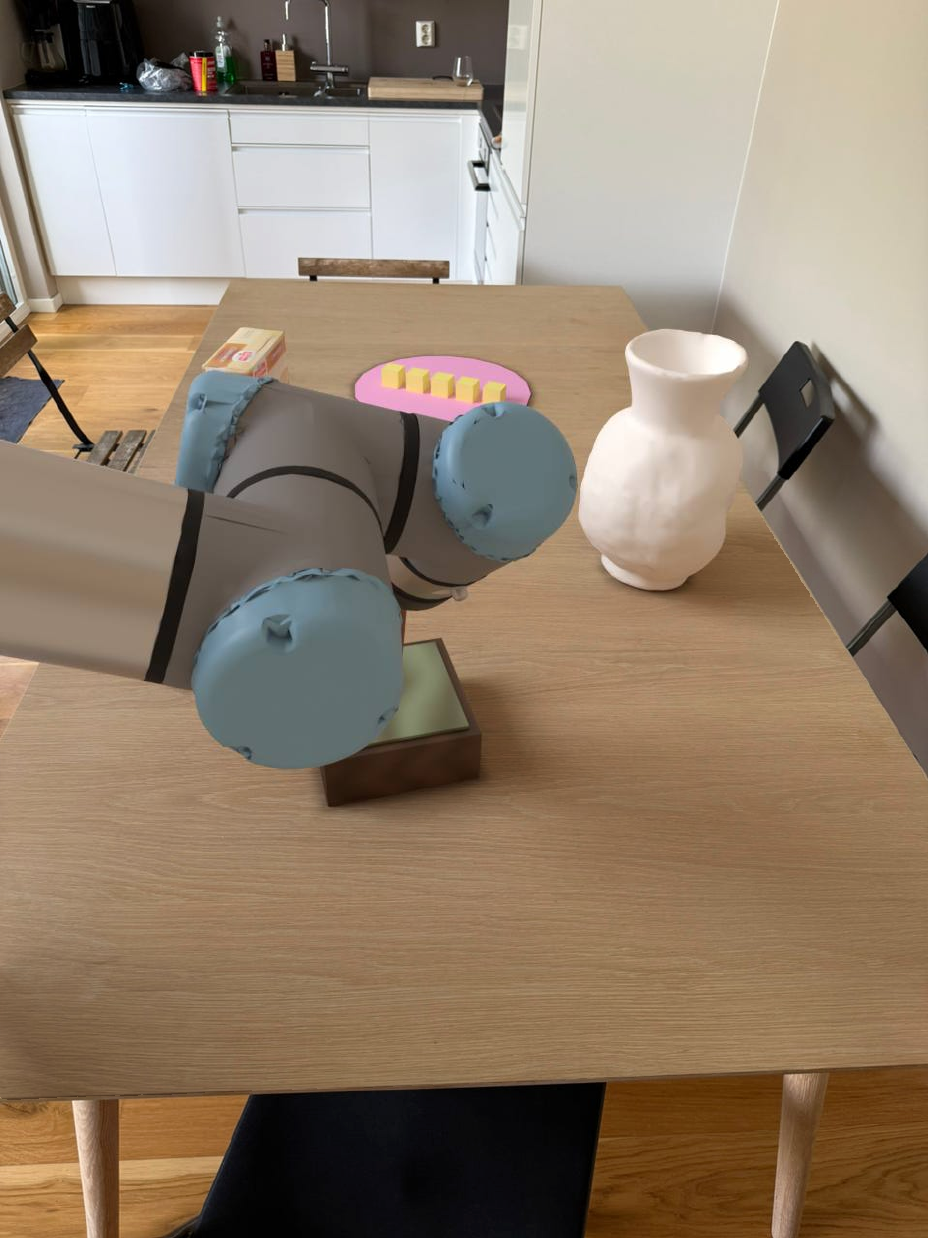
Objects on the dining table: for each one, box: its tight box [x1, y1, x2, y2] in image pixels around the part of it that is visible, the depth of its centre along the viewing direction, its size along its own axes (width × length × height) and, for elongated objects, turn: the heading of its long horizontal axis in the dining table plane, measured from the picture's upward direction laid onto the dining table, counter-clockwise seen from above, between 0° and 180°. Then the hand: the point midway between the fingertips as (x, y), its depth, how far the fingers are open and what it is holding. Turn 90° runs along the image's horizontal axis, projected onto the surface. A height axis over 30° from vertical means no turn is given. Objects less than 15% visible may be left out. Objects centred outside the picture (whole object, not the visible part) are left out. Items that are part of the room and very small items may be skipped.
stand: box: [319, 637, 483, 807], centre depth 89 cm, size 15×15×6 cm
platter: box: [354, 355, 532, 422], centre depth 161 cm, size 32×32×3 cm
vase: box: [577, 328, 749, 591], centre depth 108 cm, size 19×21×30 cm
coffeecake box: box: [201, 326, 290, 385], centre depth 129 cm, size 15×7×20 cm, turn 171°
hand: (351, 607), depth 78 cm, fingers closed on coffee cup, 9 cm apart
